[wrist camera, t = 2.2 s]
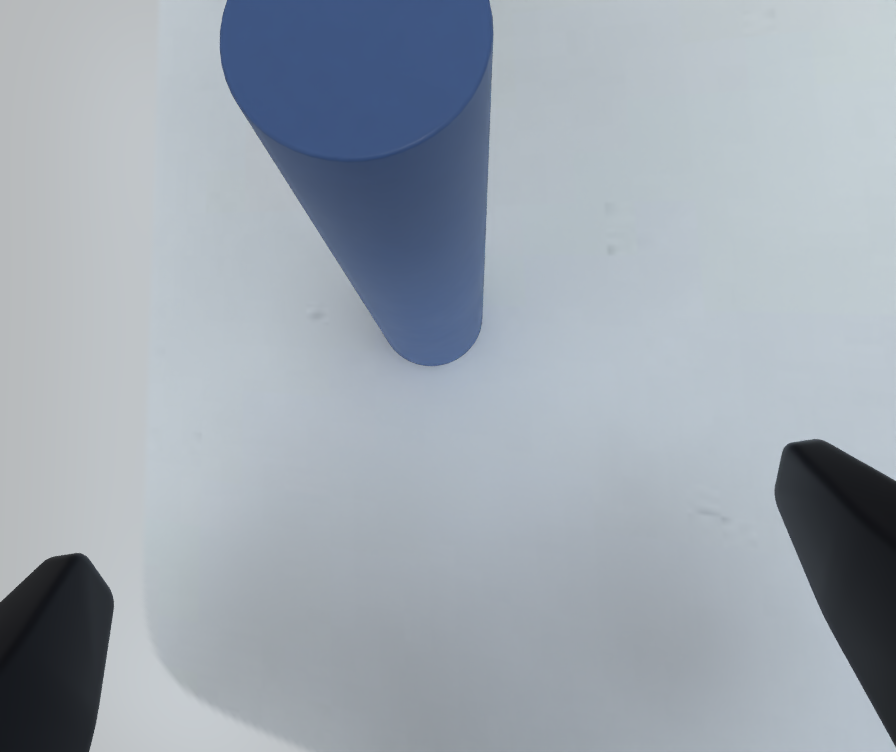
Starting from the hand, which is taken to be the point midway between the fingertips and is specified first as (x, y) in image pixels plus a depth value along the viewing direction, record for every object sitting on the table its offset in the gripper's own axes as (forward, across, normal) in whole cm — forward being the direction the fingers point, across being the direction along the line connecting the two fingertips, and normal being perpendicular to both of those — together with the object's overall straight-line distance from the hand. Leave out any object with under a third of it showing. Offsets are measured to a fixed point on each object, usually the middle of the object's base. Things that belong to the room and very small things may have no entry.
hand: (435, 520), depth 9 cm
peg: (+13, 0, +5) cm, 13 cm away
